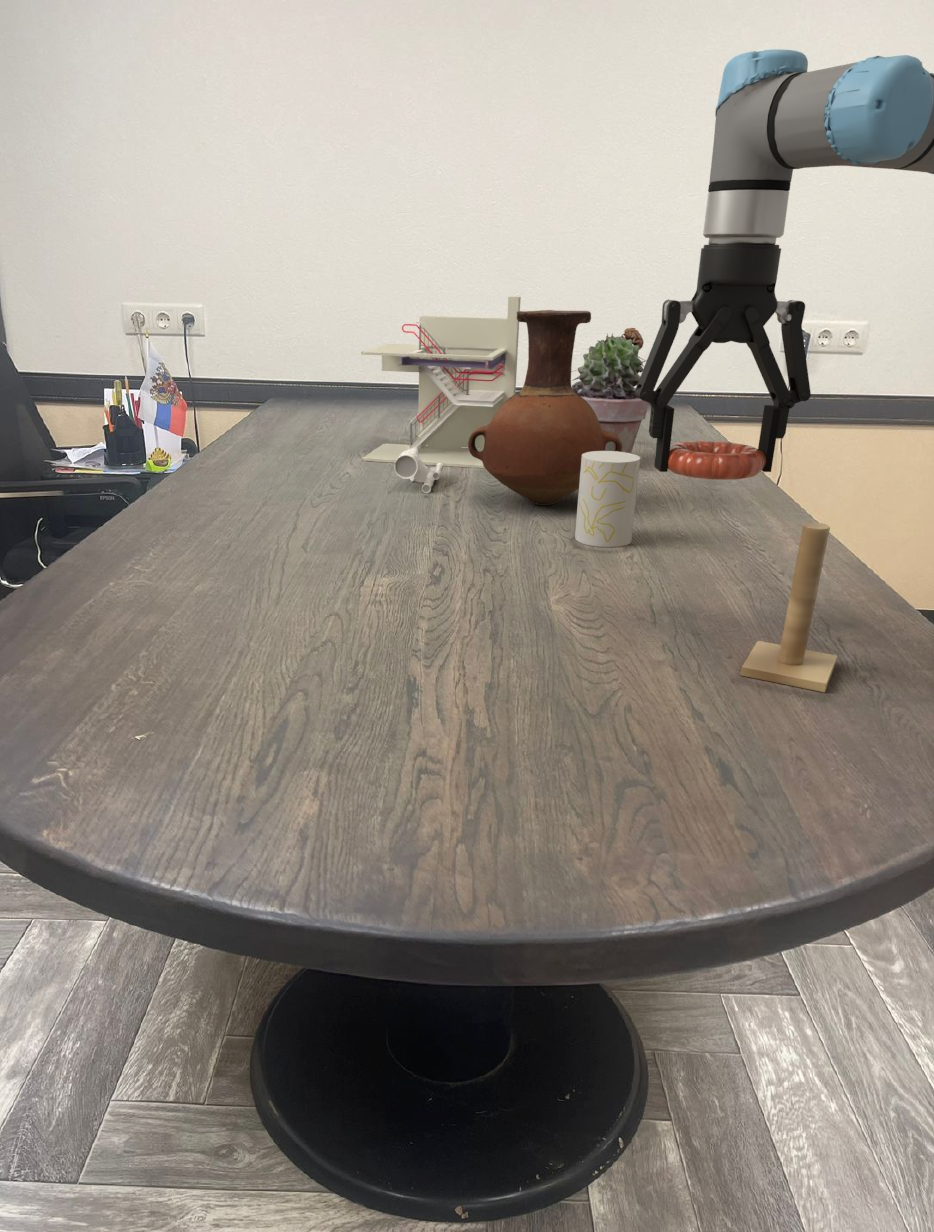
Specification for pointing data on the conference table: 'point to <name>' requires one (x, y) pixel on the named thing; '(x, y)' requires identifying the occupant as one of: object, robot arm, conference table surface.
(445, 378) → the staircase
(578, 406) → the vase
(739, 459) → the ring
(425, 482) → the white pipe fitting
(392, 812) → the conference table surface
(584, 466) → the white patterned cylinder
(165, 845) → the conference table surface
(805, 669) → the post
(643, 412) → the potted plant
